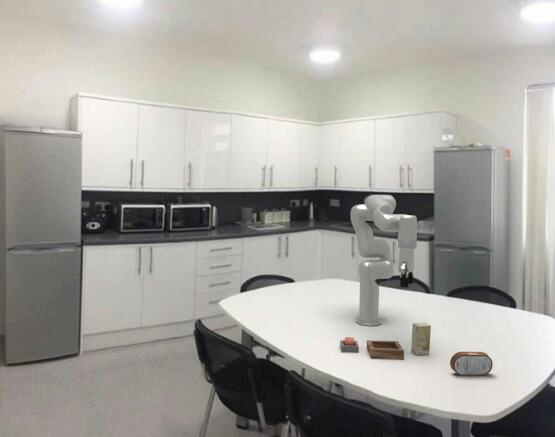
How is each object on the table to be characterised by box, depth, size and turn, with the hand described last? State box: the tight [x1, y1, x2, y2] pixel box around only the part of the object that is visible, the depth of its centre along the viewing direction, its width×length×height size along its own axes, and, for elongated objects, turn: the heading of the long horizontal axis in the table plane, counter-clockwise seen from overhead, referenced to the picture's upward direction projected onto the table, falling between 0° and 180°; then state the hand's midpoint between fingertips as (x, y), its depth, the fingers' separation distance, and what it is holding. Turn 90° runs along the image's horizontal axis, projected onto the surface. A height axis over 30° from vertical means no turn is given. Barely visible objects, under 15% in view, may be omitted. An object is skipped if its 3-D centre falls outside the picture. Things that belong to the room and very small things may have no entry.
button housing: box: [339, 339, 360, 354], centre depth 188 cm, size 7×7×2 cm
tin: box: [449, 351, 494, 377], centre depth 164 cm, size 15×3×8 cm, turn 92°
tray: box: [366, 339, 405, 360], centre depth 184 cm, size 11×13×4 cm
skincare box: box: [410, 322, 432, 356], centre depth 185 cm, size 6×4×12 cm
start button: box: [344, 336, 355, 346], centre depth 188 cm, size 4×4×3 cm
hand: (406, 285), depth 188 cm, fingers open, 9 cm apart
